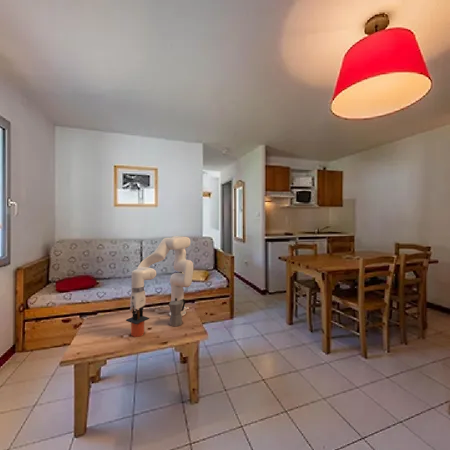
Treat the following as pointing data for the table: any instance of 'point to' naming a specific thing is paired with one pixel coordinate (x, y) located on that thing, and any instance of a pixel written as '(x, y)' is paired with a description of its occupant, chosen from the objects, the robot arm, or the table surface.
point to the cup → (137, 329)
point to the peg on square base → (139, 320)
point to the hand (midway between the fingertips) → (137, 317)
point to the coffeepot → (176, 312)
